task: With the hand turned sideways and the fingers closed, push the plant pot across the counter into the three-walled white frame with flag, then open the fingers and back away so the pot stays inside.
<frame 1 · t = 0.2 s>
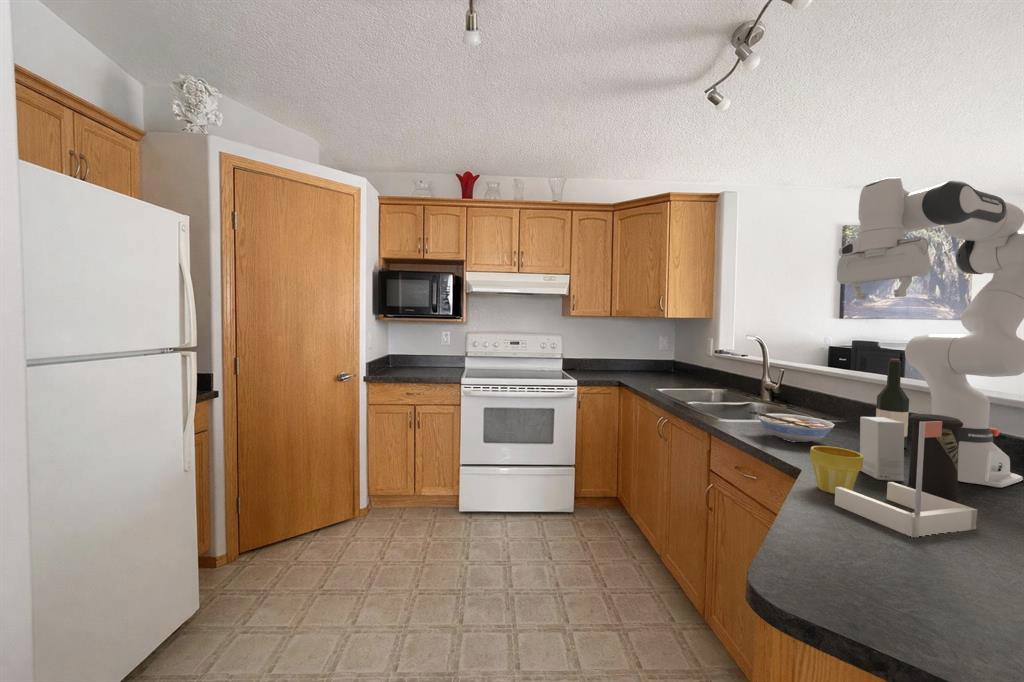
hand: (879, 298, 110), 48 cm above the worktop, tool pointing down, fingers open, 8 cm apart
skincare box: (879, 476, 118), on the worktop
white frame with flag: (897, 514, 93), on the worktop
ramen bowl: (793, 441, 154), on the worktop
container: (931, 499, 102), on the worktop
wine bottle: (890, 446, 149), on the worktop
plant pot: (834, 491, 106), on the worktop
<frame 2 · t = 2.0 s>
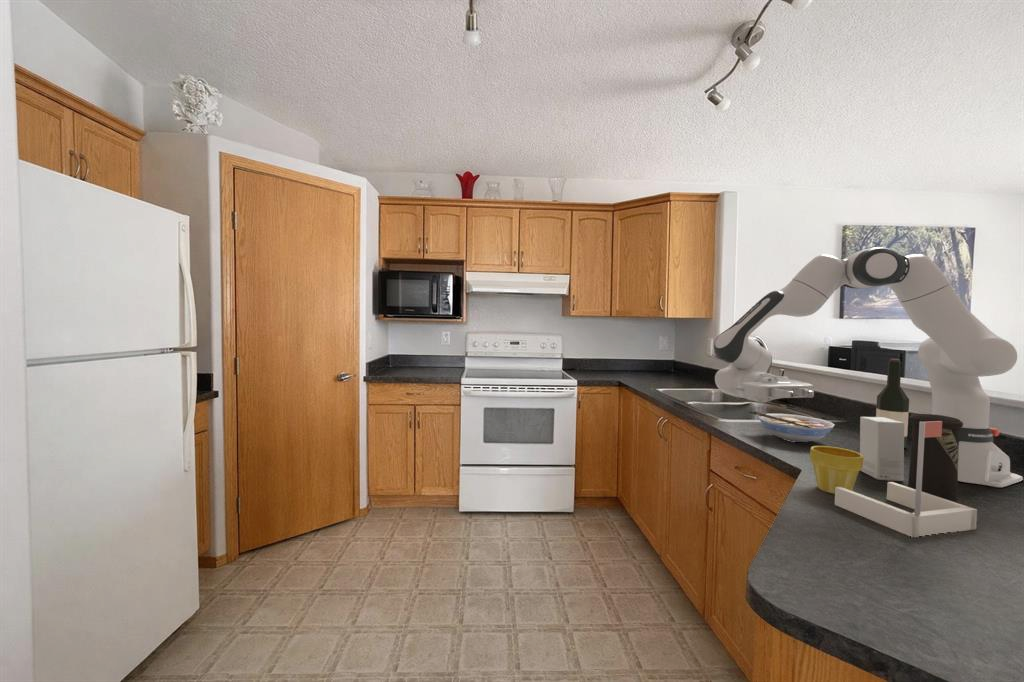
hand: (801, 394, 115), 22 cm above the worktop, tool horizontal, fingers open, 5 cm apart
nothing on the worktop moved.
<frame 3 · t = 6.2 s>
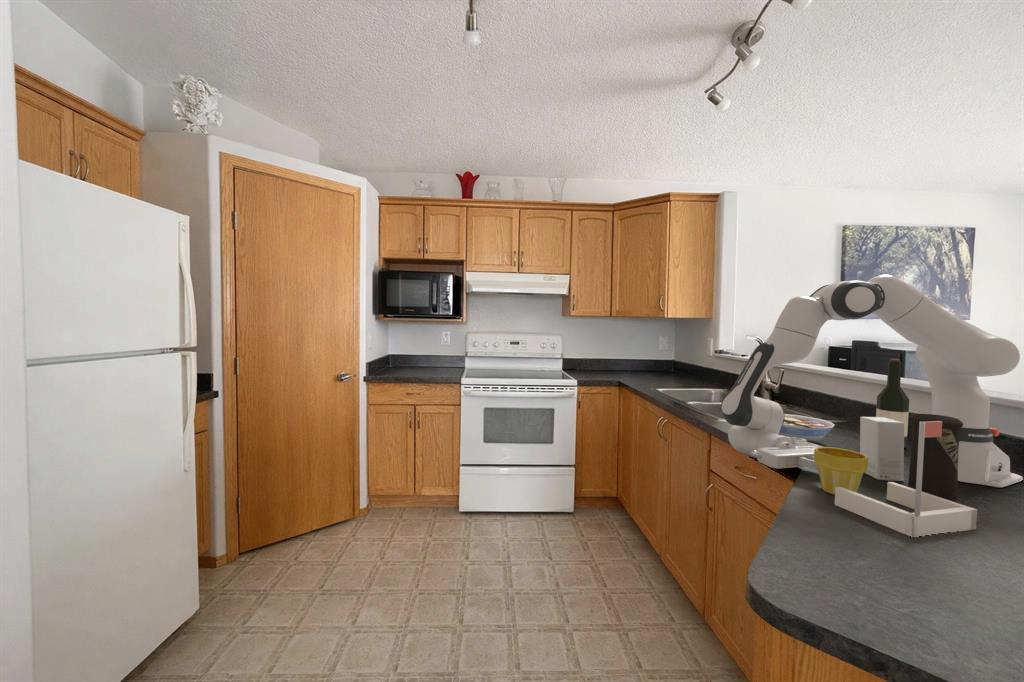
hand: (823, 466, 109), 5 cm above the worktop, tool horizontal, fingers closed
plant pot: (838, 492, 105), on the worktop, touching gripper
everything else where it was.
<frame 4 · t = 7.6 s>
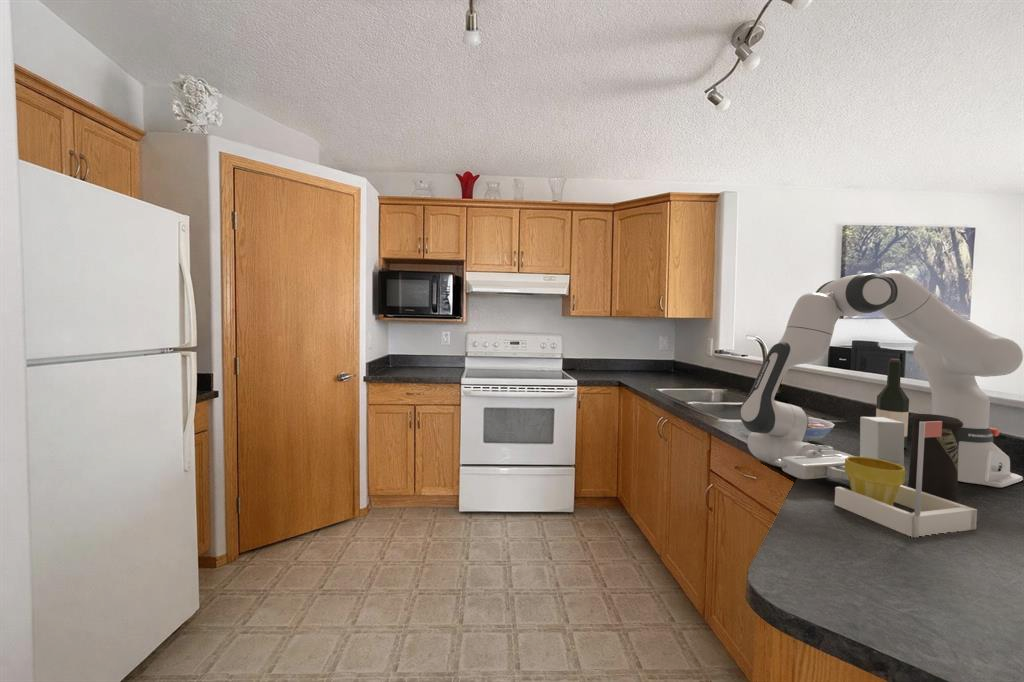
hand: (854, 476, 102), 5 cm above the worktop, tool horizontal, fingers closed
plant pot: (872, 506, 98), on the worktop, touching gripper
everything else where it was.
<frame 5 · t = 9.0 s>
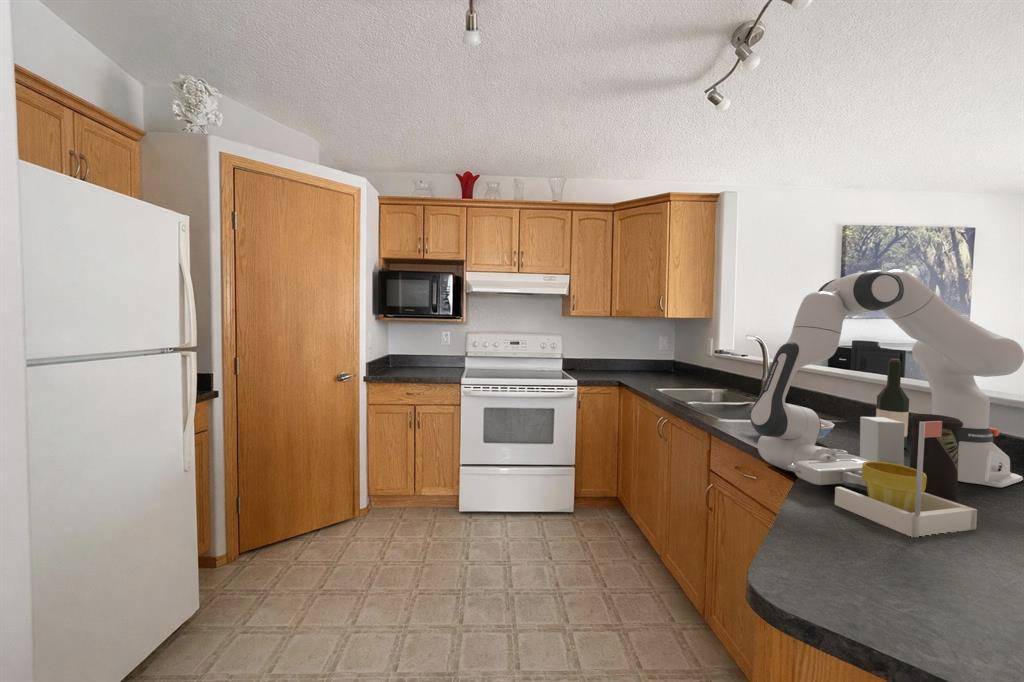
hand: (872, 482, 98), 5 cm above the worktop, tool horizontal, fingers closed
plant pot: (890, 513, 94), on the worktop, touching gripper
everything else where it was.
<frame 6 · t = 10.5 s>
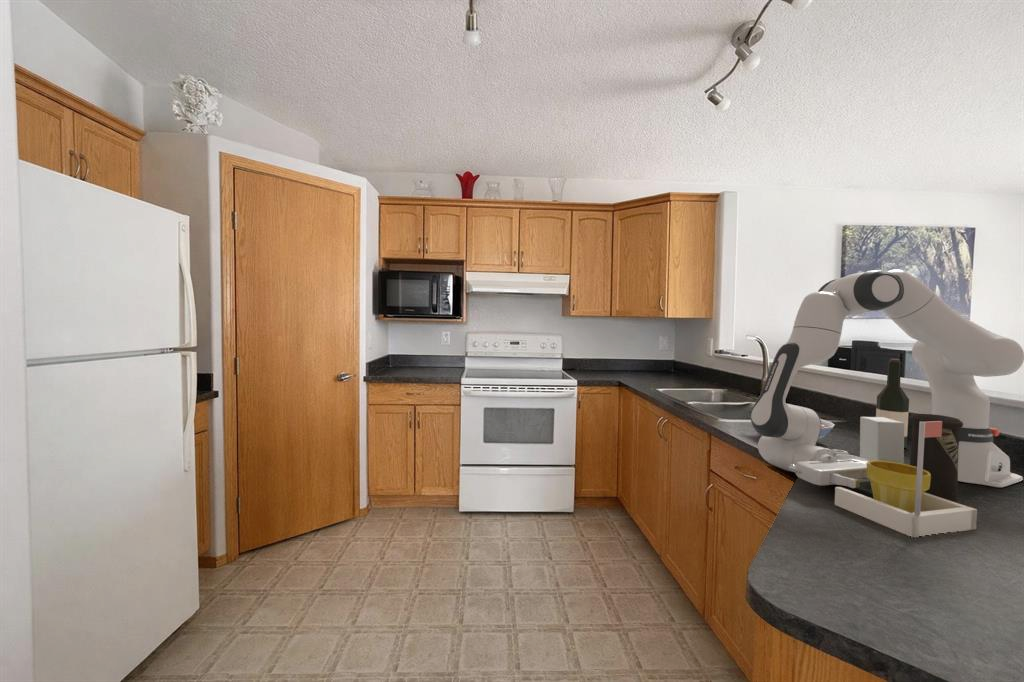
hand: (873, 483, 98), 5 cm above the worktop, tool horizontal, fingers open, 8 cm apart
plant pot: (895, 512, 95), on the worktop, touching gripper
everything else where it was.
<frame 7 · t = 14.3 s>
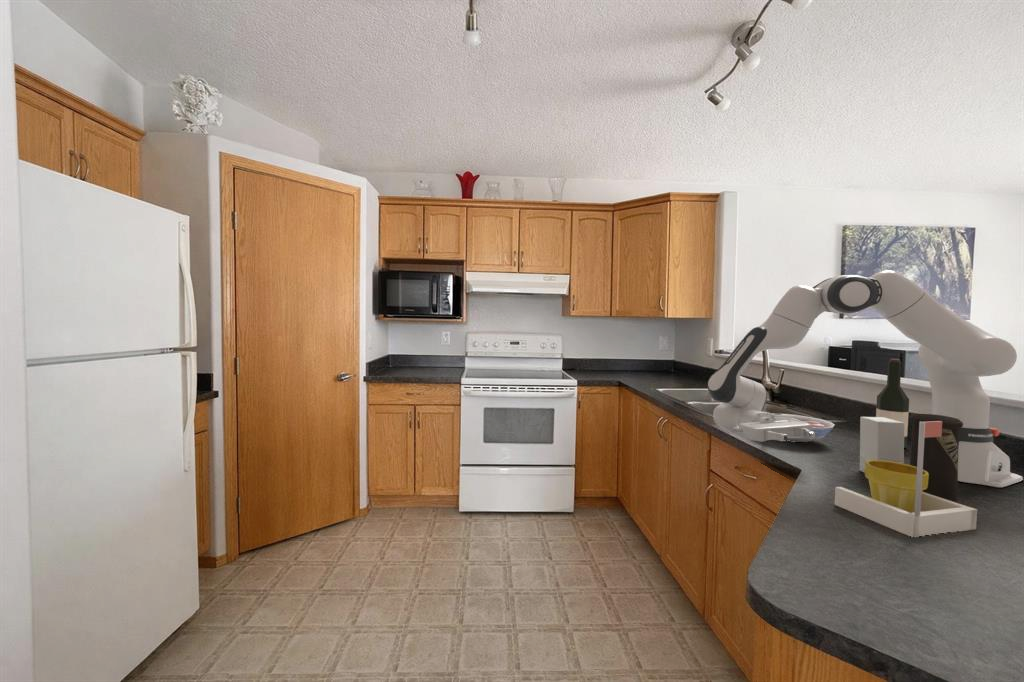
hand: (799, 436, 117), 10 cm above the worktop, tool horizontal, fingers open, 8 cm apart
plant pot: (893, 511, 95), on the worktop
everything else where it was.
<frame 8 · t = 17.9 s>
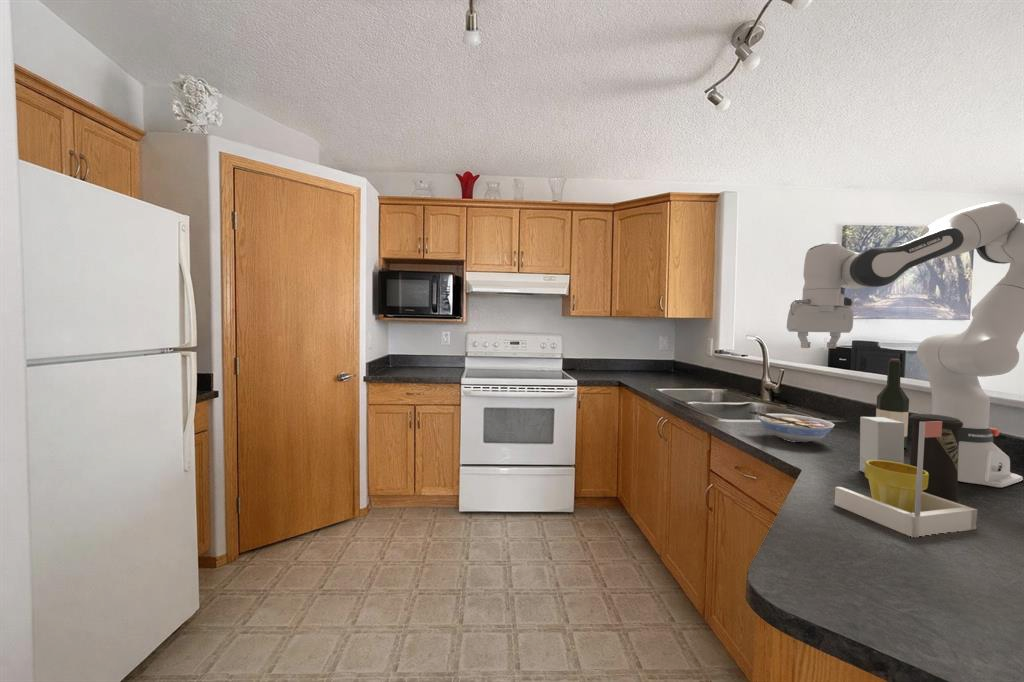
hand: (818, 348, 125), 34 cm above the worktop, tool pointing down, fingers open, 8 cm apart
nothing on the worktop moved.
at the end: plant pot inside the target area on the white frame with flag (2.4 cm from its centre), point 0.0 cm above the white frame with flag's base; plant pot tilted 0°; the gripper is holding nothing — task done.
